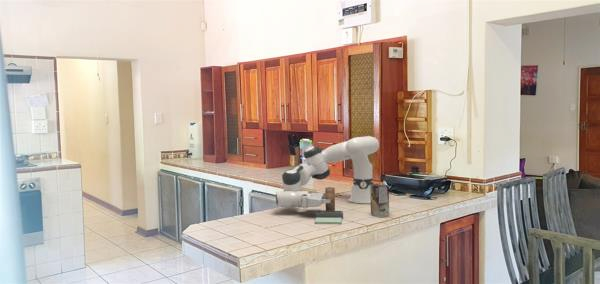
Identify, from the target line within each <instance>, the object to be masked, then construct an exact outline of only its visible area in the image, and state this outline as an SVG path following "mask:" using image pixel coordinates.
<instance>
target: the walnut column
mask: <svg viewBox="0 0 600 284" xmlns="http://www.w3.org/2000/svg"><path fill="white" fill-rule="evenodd" d="M324 193H325V194H324V195H325V199H330V203H325V211H336V203H335V202H336V195H335V194H336V189H335V187H333V186H332V187H330V186H327V187H325V189H324Z"/></svg>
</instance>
